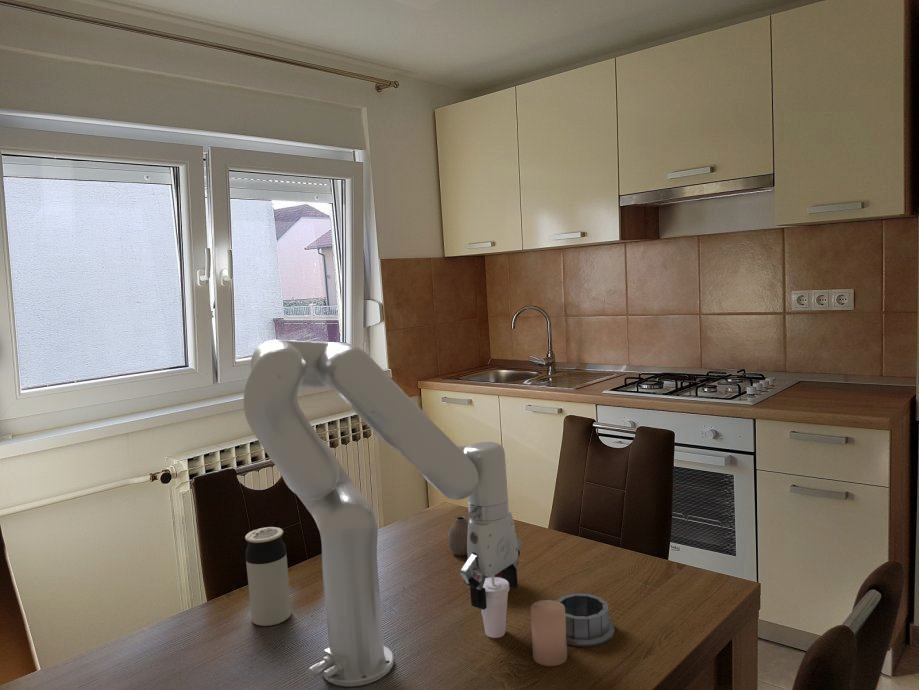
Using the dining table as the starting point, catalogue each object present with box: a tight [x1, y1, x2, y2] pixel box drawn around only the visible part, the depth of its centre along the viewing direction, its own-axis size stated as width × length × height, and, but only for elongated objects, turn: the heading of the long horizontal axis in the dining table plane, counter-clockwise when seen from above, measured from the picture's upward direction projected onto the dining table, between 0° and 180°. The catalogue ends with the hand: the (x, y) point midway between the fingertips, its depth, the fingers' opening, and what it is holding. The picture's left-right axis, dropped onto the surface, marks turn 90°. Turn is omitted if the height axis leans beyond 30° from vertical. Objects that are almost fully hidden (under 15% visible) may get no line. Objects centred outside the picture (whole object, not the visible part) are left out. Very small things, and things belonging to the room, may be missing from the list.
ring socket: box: [555, 593, 616, 648], centre depth 132 cm, size 12×12×5 cm
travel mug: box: [244, 526, 292, 627], centre depth 143 cm, size 8×8×18 cm
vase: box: [447, 516, 469, 557], centre depth 171 cm, size 7×7×9 cm
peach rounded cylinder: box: [530, 599, 568, 667], centre depth 123 cm, size 6×6×9 cm
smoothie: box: [480, 576, 511, 639], centre depth 132 cm, size 6×6×14 cm
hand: (495, 596), depth 132 cm, fingers open, 9 cm apart
